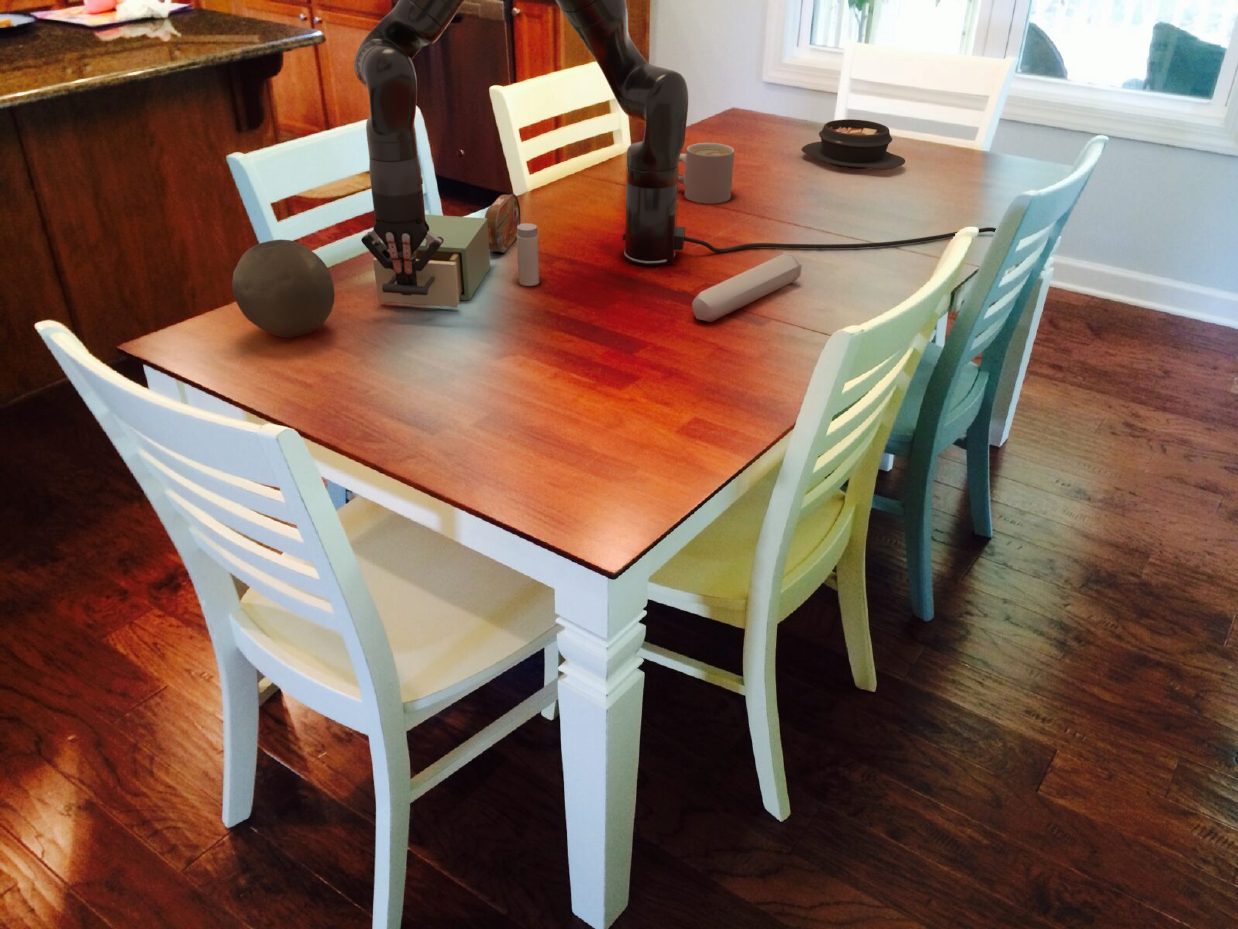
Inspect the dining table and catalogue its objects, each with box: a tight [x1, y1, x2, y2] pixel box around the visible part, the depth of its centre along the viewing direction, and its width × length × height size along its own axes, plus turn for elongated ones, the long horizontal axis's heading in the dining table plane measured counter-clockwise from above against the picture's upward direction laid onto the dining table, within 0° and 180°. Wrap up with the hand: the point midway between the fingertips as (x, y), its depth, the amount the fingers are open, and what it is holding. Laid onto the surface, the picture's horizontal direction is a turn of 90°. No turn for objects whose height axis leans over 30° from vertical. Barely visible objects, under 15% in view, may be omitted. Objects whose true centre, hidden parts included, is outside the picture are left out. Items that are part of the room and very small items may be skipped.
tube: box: [691, 251, 803, 323], centre depth 165 cm, size 5×5×25 cm
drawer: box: [372, 249, 464, 308], centre depth 163 cm, size 19×13×7 cm
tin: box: [484, 193, 522, 254], centre depth 185 cm, size 15×3×8 cm, turn 168°
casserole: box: [800, 118, 906, 171], centre depth 233 cm, size 25×19×8 cm
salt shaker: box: [516, 222, 540, 287], centre depth 169 cm, size 4×4×10 cm
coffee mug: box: [678, 142, 735, 205], centre depth 211 cm, size 13×10×10 cm
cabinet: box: [380, 214, 491, 301], centre depth 170 cm, size 15×15×9 cm
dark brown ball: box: [231, 239, 336, 338], centre depth 149 cm, size 14×14×15 cm
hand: (408, 293), depth 157 cm, fingers closed
